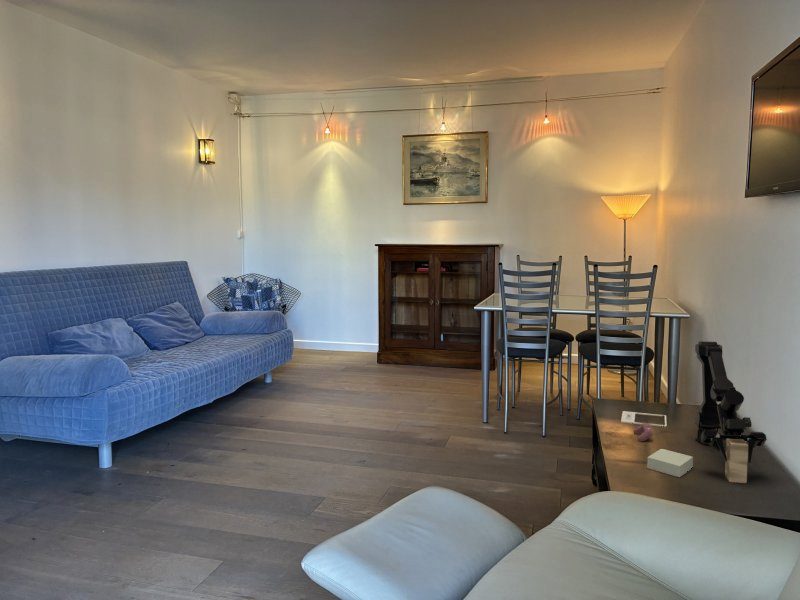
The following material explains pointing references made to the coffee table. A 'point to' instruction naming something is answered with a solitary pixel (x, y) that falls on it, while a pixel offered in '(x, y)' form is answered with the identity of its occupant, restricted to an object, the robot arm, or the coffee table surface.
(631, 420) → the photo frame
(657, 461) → the white flat block
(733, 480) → the birch block
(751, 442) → the robot arm
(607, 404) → the coffee table surface
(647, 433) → the pink lumpy piece
